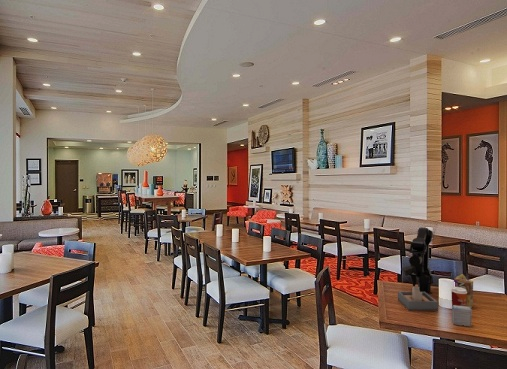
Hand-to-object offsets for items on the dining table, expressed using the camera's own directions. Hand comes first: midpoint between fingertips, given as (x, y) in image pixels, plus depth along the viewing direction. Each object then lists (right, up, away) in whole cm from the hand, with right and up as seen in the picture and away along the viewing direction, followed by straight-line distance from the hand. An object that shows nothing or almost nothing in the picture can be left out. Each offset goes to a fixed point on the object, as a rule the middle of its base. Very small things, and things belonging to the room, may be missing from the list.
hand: (417, 288), depth 200 cm
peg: (0, -9, +1) cm, 9 cm away
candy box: (+26, -10, 0) cm, 28 cm away
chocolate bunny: (+33, -9, +11) cm, 36 cm away
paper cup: (+17, -10, -12) cm, 23 cm away
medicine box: (+11, -11, -24) cm, 29 cm away
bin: (0, -10, +1) cm, 10 cm away
